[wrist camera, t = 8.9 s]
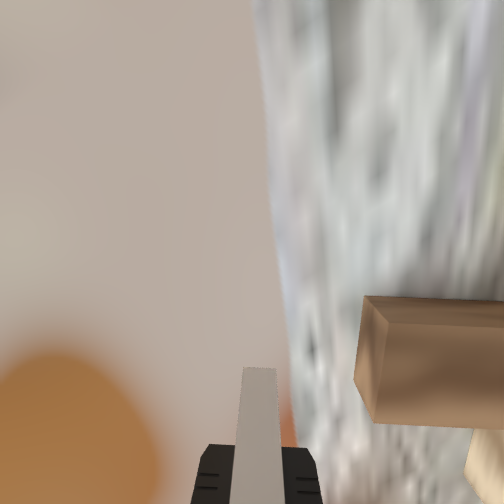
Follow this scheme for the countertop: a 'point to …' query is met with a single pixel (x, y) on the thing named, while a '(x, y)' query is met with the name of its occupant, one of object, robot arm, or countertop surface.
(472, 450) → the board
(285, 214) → the countertop surface
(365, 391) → the block
